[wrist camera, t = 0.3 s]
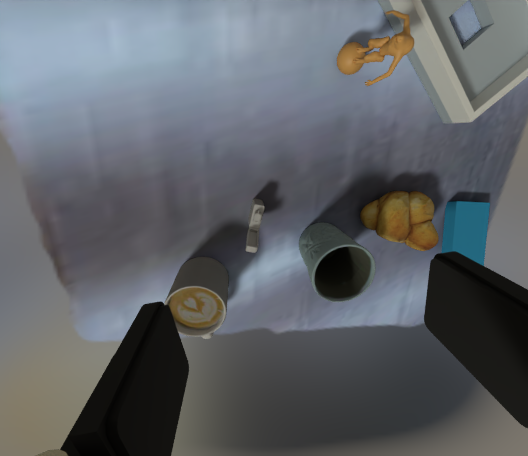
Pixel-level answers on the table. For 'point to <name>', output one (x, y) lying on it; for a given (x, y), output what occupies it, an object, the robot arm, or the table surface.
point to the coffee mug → (199, 297)
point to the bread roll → (402, 219)
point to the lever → (466, 229)
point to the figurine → (397, 46)
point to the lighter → (254, 225)
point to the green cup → (335, 263)
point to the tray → (465, 53)
